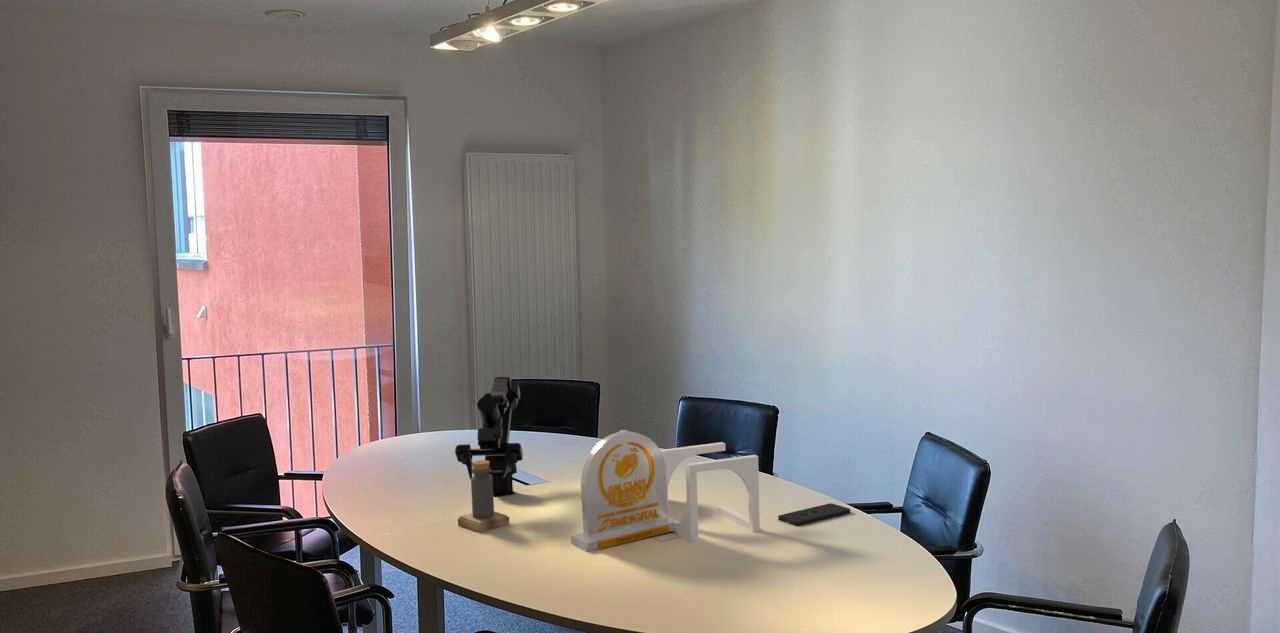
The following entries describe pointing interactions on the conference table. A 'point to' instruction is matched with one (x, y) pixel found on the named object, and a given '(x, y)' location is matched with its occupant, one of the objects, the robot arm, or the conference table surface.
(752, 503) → the white arched frame
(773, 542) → the conference table surface
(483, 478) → the bottle
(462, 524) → the plinth
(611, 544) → the award
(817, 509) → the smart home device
